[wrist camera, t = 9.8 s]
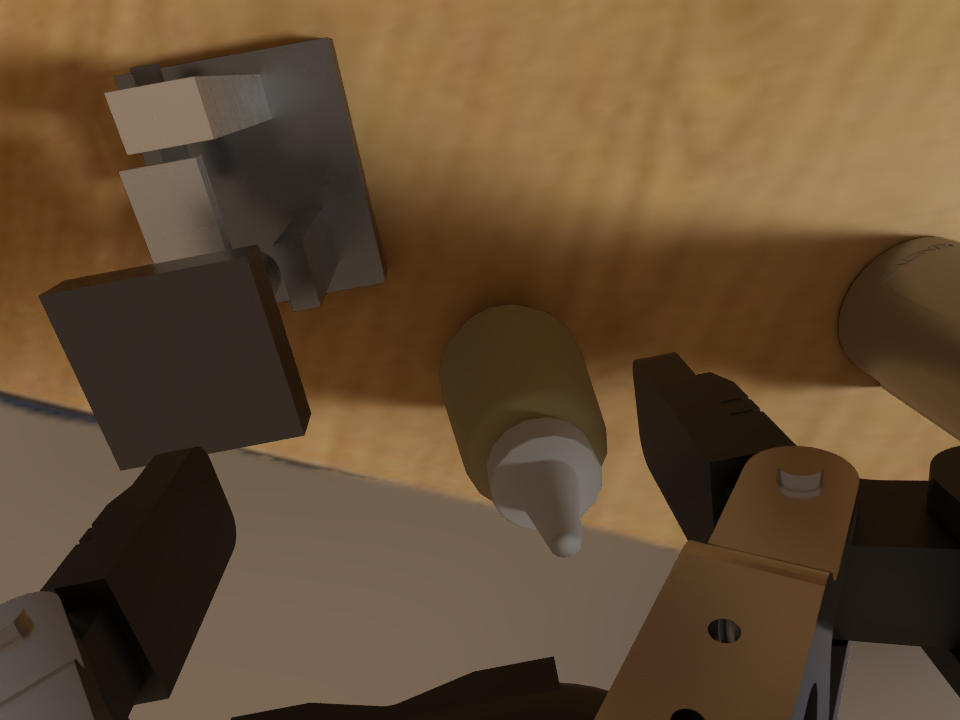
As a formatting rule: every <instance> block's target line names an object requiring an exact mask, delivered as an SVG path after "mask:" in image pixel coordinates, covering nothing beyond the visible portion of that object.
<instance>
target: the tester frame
mask: <svg viewBox="0 0 960 720" xmlns="http://www.w3.org/2000/svg"><path fill="white" fill-rule="evenodd" d="M160 69H161V72H162V75H163V78H164V81H165V82H161V83H156V84H151V85H145V86H140V87H136V84H135V81H134V79H133V76H132V73H131V74H125V75H120V76H114V79H115V82H116V84H117V87H118V91H113V92H107V93H104V94H105V97H106V100H107V102H108V105H109V108H110V110H111V113H112V116H113V118H114V121H115V124H116V126H117V129H118V131H119V134H120V137H121V139H122V142H123V145H124V147H125V150H126V153H127V155H131V154H136V153H142V155H143V158H144V161H145V163H146V165H151V164H156V163H162V162H163V160H162V157H161V155H160V152H159V149H163V148H169V147H174V146H180V145H185V144H186V146H187V149H188V152H189V155H190V157H194V156H199V155H202V158H203V161H204V164H205V167H206V170H207V173H208V176H209V179H210V182H211V185H212V188H213V191H214V194H215V197H216V200H217V203H218V206H219V209H220V212H221V215H222V218H223V221H224V224H225V228H226V231H227V234H228V237H229V240H230V243H231V246H232V249H235V248H241V247H246V246H251V245H257V244H258V245H259V249H260V251H262V252H264V253H266V254H268V255H269V256H271V257H272V258H273V259H274V260H275V261H276V263H277V264H278V266H279V268H280V271H281V276H282V281H281V285H280V288H279V290H278V292H277V293H276V295H275V300H276V303H278V302H284V301H289V300H290V302H291V306H292V309H293V312H295V311H301V310H306V309H311V308H317V307H321V305H322V302H323V300H324V297H325V295H326V293H331V292H337V291H342V290H347V289H353V288H358V287H363V286H368V285H374V284H379V283H384V282H386V276H387V269H386V265H385V261H384V257H383V252H382V248H381V244H380V240H379V235H378V231H377V227H376V223H375V218H374V214H373V210H372V206H371V201H370V197H369V193H368V188H367V184H366V180H365V176H364V171H363V167H362V163H361V159H360V154H359V150H358V146H357V142H356V137H355V133H354V129H353V125H352V120H351V116H350V112H349V108H348V103H347V99H346V95H345V91H344V86H343V82H342V78H341V74H340V69H339V65H338V61H337V57H336V52H335V48H334V44H333V40H332V39H331V38H328V37H326V38H321V39H316V40H310V41H305V42H299V43H294V44H288V45H283V46H277V47H272V48H267V49H261V50H256V51H250V52H245V53H239V54H234V55H229V56H223V57H218V58H212V59H207V60H201V61H196V62H190V63H185V64H180V65H174V66H169V67H163V68H160Z"/></svg>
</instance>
